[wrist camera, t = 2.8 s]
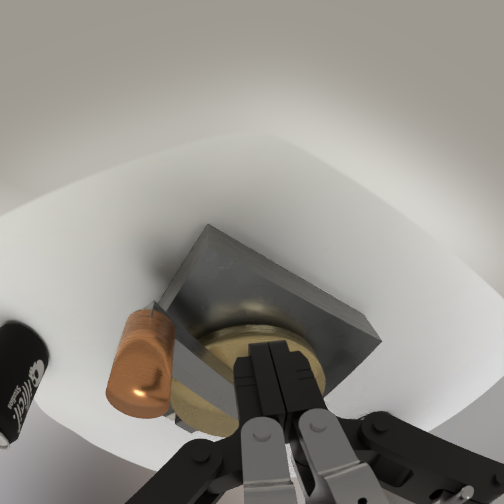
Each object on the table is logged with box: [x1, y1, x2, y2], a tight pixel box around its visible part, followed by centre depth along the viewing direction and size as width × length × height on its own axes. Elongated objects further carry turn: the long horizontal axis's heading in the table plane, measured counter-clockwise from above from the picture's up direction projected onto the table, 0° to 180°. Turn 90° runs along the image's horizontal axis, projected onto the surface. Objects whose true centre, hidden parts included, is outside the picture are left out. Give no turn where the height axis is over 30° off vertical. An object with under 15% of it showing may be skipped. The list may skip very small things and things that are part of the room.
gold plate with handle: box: [106, 301, 325, 437], centre depth 18 cm, size 18×13×8 cm
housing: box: [158, 224, 382, 420], centre depth 25 cm, size 17×17×4 cm
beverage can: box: [0, 324, 48, 450], centre depth 19 cm, size 7×7×12 cm
